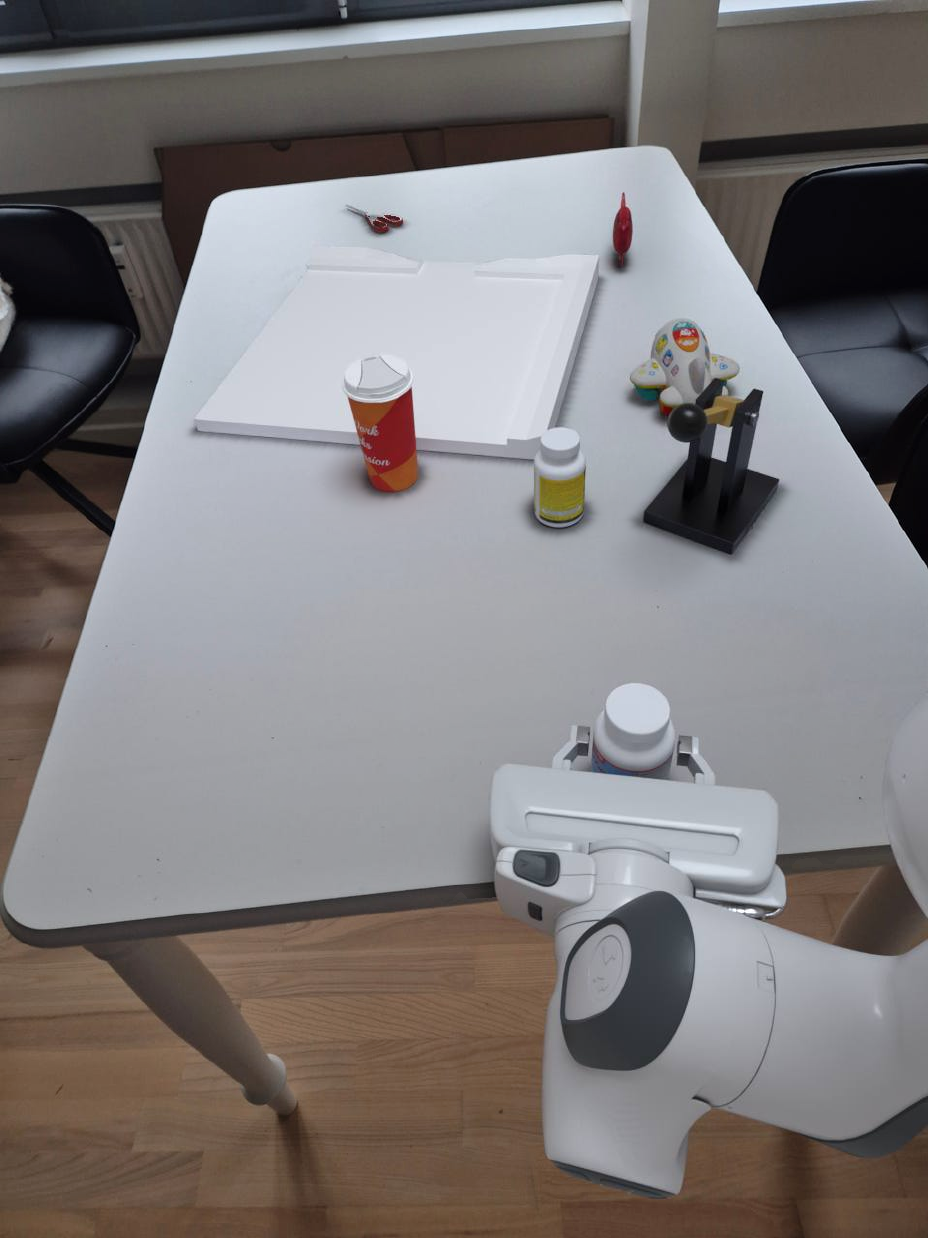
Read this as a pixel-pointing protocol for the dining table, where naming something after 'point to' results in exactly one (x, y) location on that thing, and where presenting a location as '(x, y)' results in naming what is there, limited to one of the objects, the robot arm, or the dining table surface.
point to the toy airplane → (680, 366)
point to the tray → (416, 349)
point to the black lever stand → (716, 483)
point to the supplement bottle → (559, 478)
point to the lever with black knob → (701, 418)
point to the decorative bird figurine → (622, 230)
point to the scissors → (380, 220)
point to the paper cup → (384, 419)
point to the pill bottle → (634, 734)
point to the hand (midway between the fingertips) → (633, 735)
